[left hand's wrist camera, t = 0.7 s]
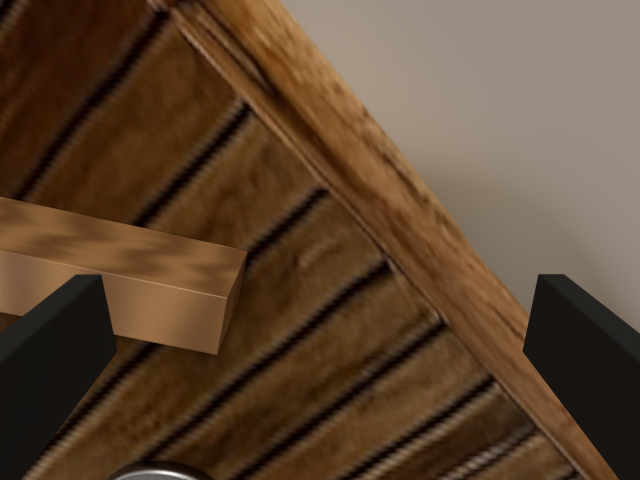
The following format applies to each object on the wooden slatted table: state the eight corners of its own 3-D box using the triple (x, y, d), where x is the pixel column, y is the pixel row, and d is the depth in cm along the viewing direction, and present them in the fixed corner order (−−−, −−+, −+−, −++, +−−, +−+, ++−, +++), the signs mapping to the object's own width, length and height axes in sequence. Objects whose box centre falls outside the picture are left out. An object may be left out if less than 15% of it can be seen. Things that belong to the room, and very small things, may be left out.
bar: (248, 250, 36) (227, 298, 28) (239, 298, 38) (217, 355, 30) (-55, 184, 34) (-168, 215, 26) (-50, 237, 36) (-154, 281, 28)
